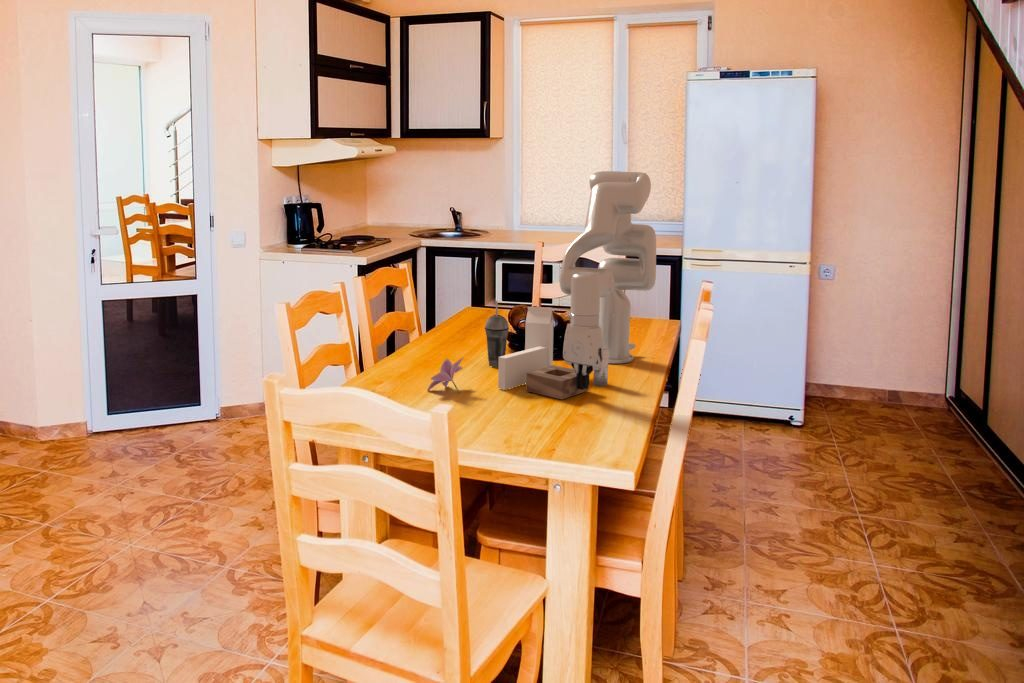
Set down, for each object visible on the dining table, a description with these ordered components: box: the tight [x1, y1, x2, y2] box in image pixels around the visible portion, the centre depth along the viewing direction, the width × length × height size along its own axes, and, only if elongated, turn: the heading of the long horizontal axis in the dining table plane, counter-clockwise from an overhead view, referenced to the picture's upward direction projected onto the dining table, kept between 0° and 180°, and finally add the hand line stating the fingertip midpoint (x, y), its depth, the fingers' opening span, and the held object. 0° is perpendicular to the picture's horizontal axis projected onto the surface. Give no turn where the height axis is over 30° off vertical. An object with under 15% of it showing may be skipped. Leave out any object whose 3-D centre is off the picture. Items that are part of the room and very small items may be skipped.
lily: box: [426, 357, 464, 394], centre depth 239 cm, size 12×12×10 cm
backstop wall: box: [497, 346, 547, 391], centre depth 248 cm, size 18×2×9 cm, turn 140°
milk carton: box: [524, 306, 555, 367], centre depth 261 cm, size 7×7×19 cm
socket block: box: [525, 364, 590, 400], centre depth 241 cm, size 12×12×5 cm
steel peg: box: [592, 348, 609, 387], centre depth 248 cm, size 4×4×10 cm
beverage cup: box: [484, 300, 510, 368], centre depth 266 cm, size 7×7×20 cm
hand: (582, 388), depth 236 cm, fingers closed
